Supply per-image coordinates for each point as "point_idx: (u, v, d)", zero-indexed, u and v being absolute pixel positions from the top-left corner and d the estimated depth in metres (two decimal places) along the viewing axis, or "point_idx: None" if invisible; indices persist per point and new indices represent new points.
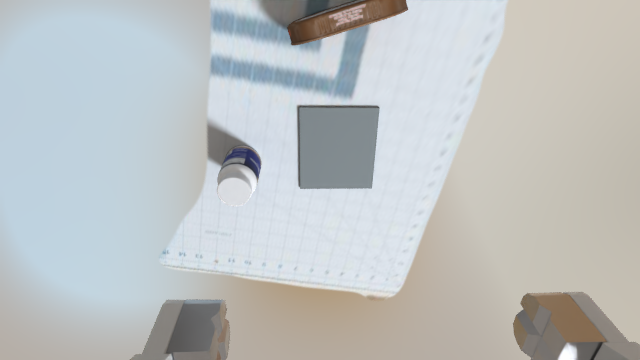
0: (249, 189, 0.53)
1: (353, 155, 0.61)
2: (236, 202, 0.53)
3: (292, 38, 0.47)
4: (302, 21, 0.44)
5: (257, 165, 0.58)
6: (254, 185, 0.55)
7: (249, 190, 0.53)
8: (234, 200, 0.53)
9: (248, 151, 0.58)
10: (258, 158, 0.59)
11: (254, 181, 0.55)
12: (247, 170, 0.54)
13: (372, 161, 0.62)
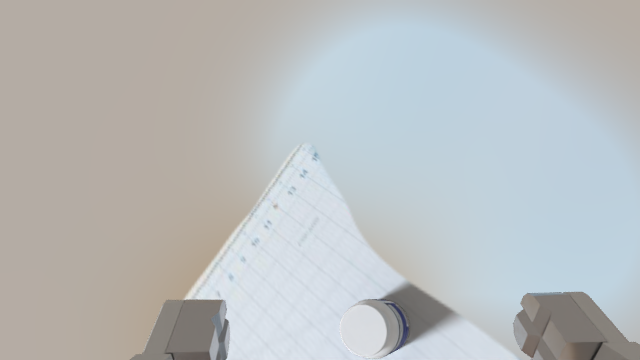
0: (357, 353, 0.36)
1: None
2: (347, 323, 0.37)
3: None
4: None
5: None
6: None
7: (355, 352, 0.36)
8: (351, 322, 0.37)
9: None
10: None
11: None
12: (381, 355, 0.37)
13: None
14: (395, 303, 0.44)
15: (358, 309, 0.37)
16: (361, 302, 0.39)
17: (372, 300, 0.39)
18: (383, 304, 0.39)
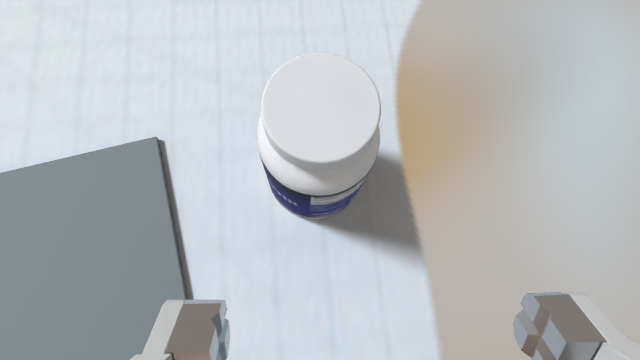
0: (269, 128, 0.14)
1: (19, 270, 0.21)
2: (305, 69, 0.15)
3: None
4: None
5: (273, 187, 0.20)
6: (263, 138, 0.17)
7: (268, 124, 0.14)
8: (312, 75, 0.15)
9: (306, 213, 0.21)
10: (278, 198, 0.22)
11: (265, 152, 0.17)
12: (294, 183, 0.16)
13: None
14: None
15: (348, 70, 0.15)
16: None
17: None
18: None
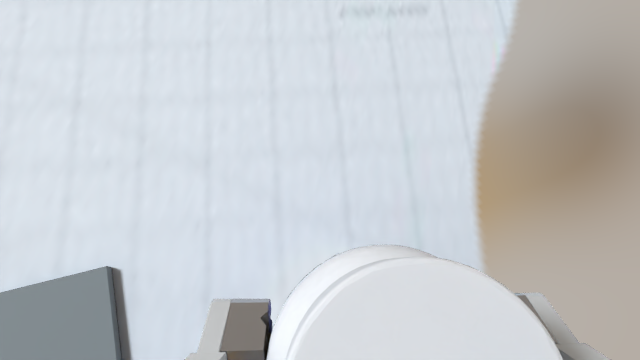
0: None
1: None
2: (388, 307, 0.06)
3: None
4: None
5: None
6: None
7: None
8: (405, 324, 0.06)
9: None
10: None
11: None
12: None
13: None
14: None
15: (492, 308, 0.06)
16: None
17: None
18: None
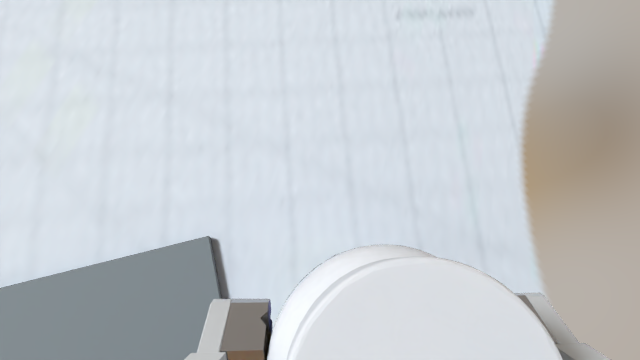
0: None
1: None
2: (389, 306, 0.06)
3: None
4: None
5: None
6: None
7: None
8: (406, 323, 0.06)
9: None
10: None
11: None
12: None
13: None
14: None
15: (492, 307, 0.06)
16: None
17: None
18: None
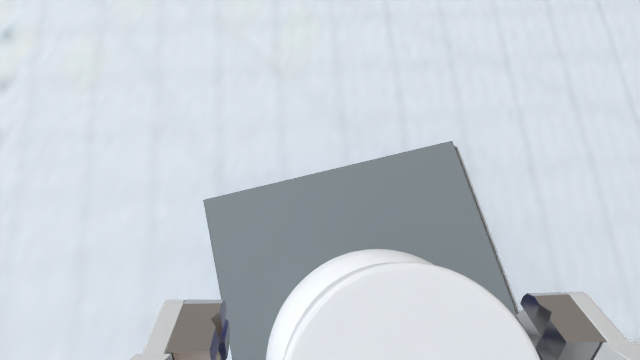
0: None
1: None
2: (378, 308, 0.07)
3: None
4: None
5: None
6: None
7: None
8: (394, 325, 0.07)
9: None
10: None
11: None
12: None
13: (231, 312, 0.16)
14: None
15: (474, 310, 0.07)
16: None
17: None
18: None
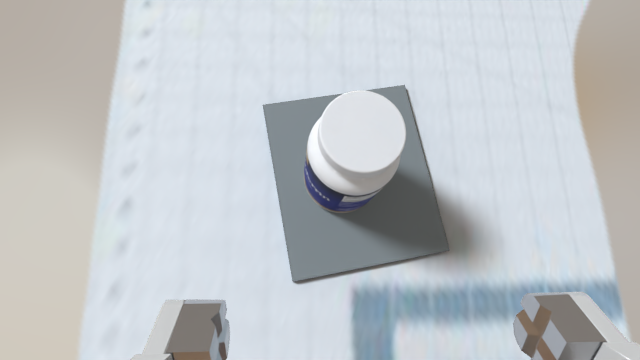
0: (325, 144, 0.20)
1: None
2: (353, 102, 0.20)
3: None
4: None
5: (311, 185, 0.25)
6: (313, 149, 0.22)
7: (324, 141, 0.20)
8: (358, 107, 0.20)
9: (333, 208, 0.27)
10: (311, 193, 0.27)
11: (314, 159, 0.22)
12: (334, 184, 0.22)
13: (276, 163, 0.30)
14: None
15: (384, 105, 0.20)
16: None
17: None
18: None
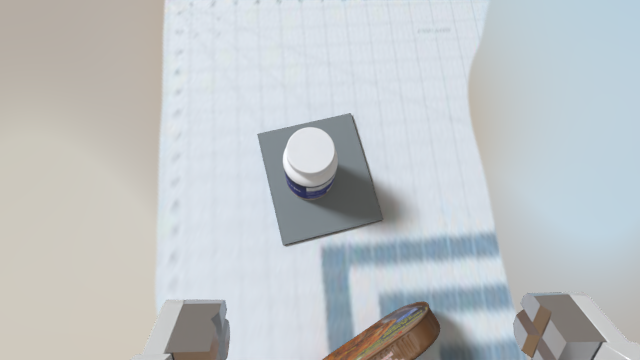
0: (289, 159, 0.36)
1: None
2: (304, 134, 0.37)
3: (431, 313, 0.37)
4: (432, 342, 0.35)
5: (289, 183, 0.42)
6: (285, 161, 0.38)
7: (289, 157, 0.36)
8: (307, 137, 0.37)
9: (304, 196, 0.43)
10: (290, 188, 0.44)
11: (286, 167, 0.38)
12: (299, 181, 0.38)
13: (268, 171, 0.46)
14: None
15: (322, 135, 0.37)
16: None
17: None
18: (336, 154, 0.39)
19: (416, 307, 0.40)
